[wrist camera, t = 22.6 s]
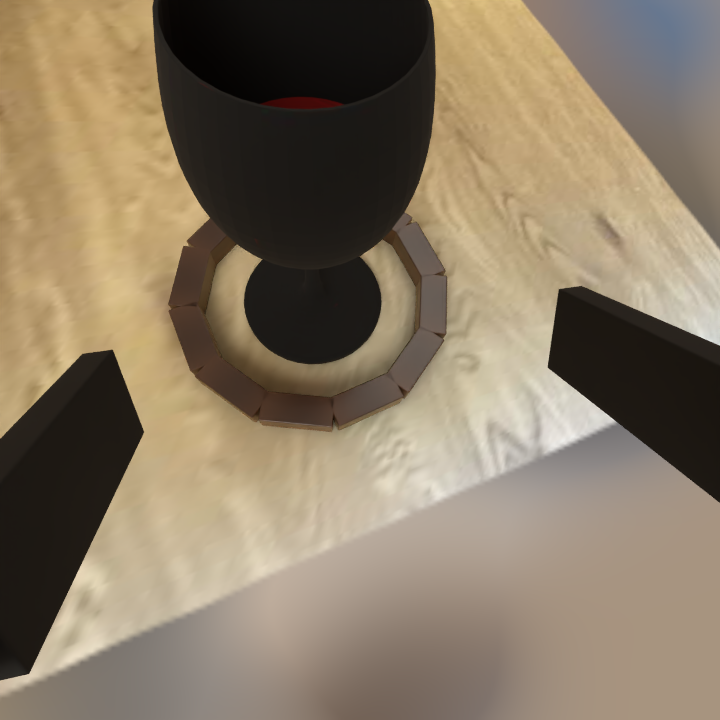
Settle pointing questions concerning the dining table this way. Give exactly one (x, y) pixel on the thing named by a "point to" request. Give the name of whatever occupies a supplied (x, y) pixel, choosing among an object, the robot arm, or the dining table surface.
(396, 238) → the walnut ring
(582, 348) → the robot arm
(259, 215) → the wine glass
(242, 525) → the dining table surface
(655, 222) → the dining table surface
